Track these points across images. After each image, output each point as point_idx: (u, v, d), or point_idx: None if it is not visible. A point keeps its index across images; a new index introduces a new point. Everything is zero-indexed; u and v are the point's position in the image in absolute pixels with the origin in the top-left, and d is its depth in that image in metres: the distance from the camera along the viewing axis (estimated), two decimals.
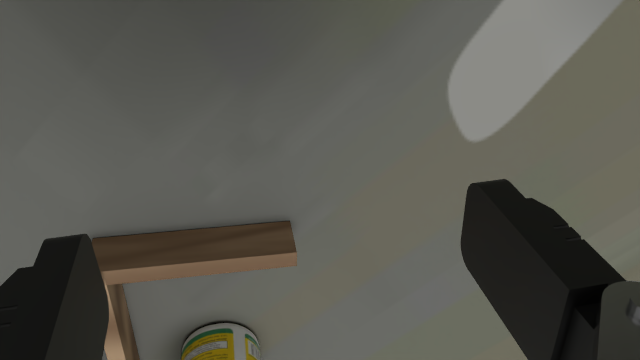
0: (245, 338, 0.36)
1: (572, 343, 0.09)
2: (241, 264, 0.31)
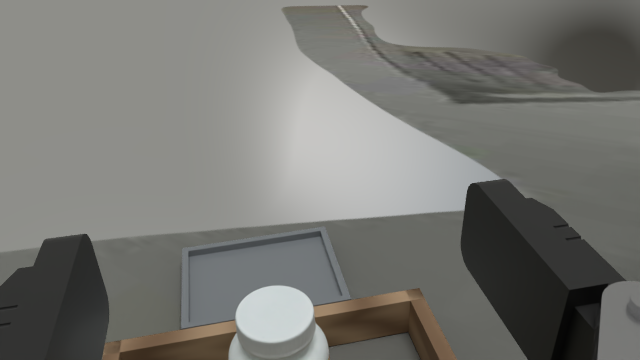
0: None
1: (572, 343, 0.09)
2: None
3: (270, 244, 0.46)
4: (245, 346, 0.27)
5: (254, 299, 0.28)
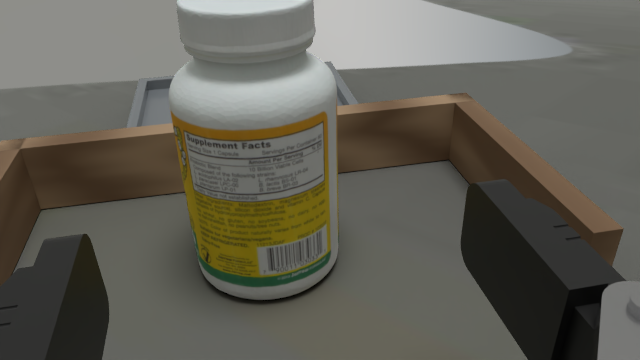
0: (330, 247, 0.19)
1: (572, 343, 0.09)
2: (552, 179, 0.19)
3: None
4: (191, 41, 0.15)
5: None
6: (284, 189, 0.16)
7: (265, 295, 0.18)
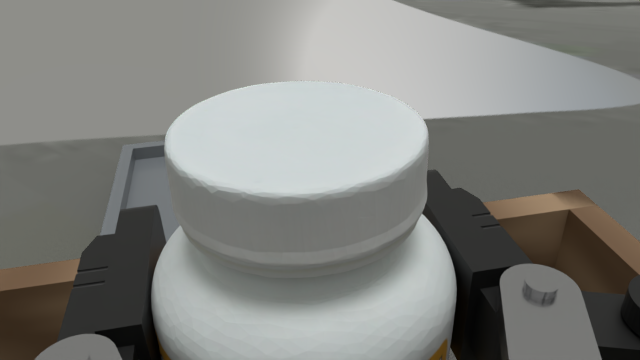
0: None
1: (480, 324, 0.09)
2: None
3: None
4: (192, 227, 0.08)
5: (233, 102, 0.09)
6: None
7: None
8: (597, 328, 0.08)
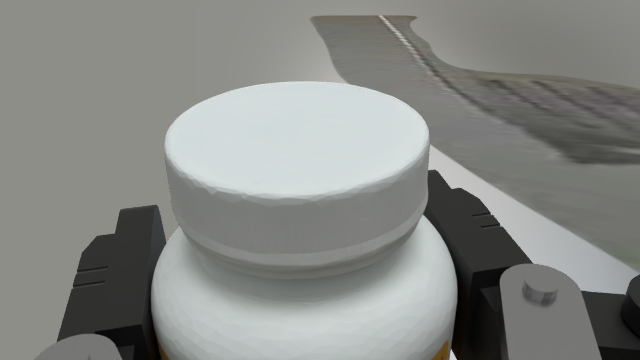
0: None
1: (479, 324, 0.09)
2: None
3: None
4: (191, 229, 0.08)
5: (232, 103, 0.09)
6: None
7: None
8: (597, 328, 0.08)
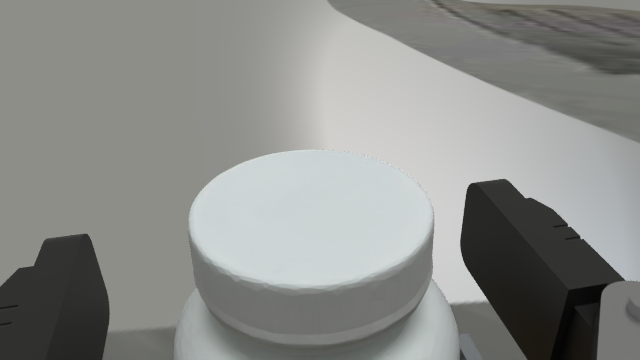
0: None
1: (571, 343, 0.09)
2: None
3: None
4: (215, 306, 0.08)
5: (249, 176, 0.10)
6: None
7: None
8: None
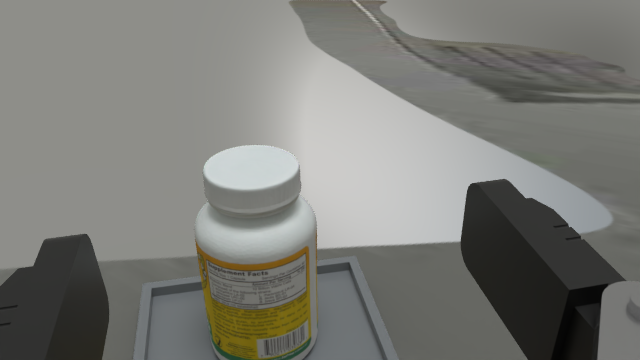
0: (310, 334, 0.25)
1: (572, 343, 0.09)
2: None
3: None
4: (213, 201, 0.22)
5: (228, 155, 0.23)
6: (277, 301, 0.23)
7: None
8: None
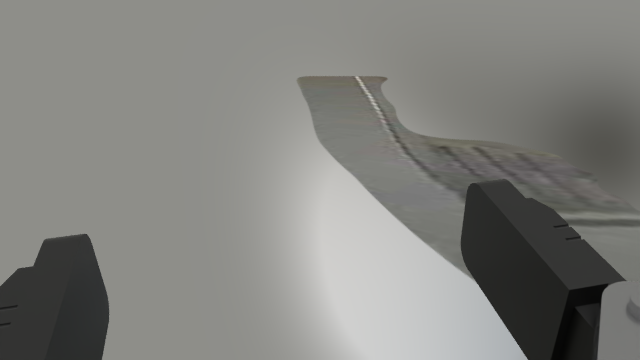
0: None
1: (572, 343, 0.09)
2: None
3: None
4: None
5: None
6: None
7: None
8: None
